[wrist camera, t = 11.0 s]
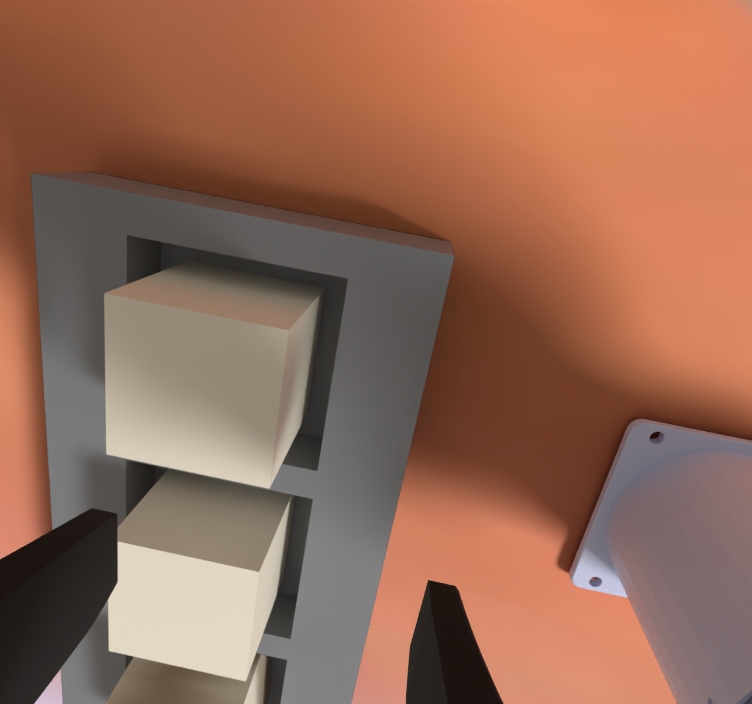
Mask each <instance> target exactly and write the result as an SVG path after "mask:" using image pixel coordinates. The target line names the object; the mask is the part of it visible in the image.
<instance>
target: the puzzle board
mask: <svg viewBox="0 0 752 704" xmlns="http://www.w3.org/2000/svg"><path fill="white" fill-rule="evenodd" d="M31 185H32V201H33V218H34V234H35V251H36V267H37V284H38V301H39V317H40V334H41V350H42V367H43V383H44V400H45V416H46V433H47V449H48V466H49V482H50V499H51V516H52V530H54V529H55V528H57V527H59V526H61V525H62V524H64V523H66V522H68V521H69V520H71V519H73V518H75V517H76V516H78V515H80V514H82V513H84V512H85V511H87V510H89V509H91V508H94V509H98V510H103V511H108V512H112V513H117V523H118V583H117V585H116V586H115V588H114V590H113V592H112V593H111V595H110V597H109V599H108V600H107V602H106V604H105V606H104V607H103V609H102V611H101V612H100V614H99V615H98V617H97V619H96V620H95V622H94V624H93V625H92V627H91V628H90V630H89V631H88V632H87V634H86V635H85V637H84V638H83V639H82V641H81V642H80V643H79V645H78V646H77V647H76V649H75V650H74V651H73V653H72V654H71V655H70V657H69V658H68V659H67V661H66V662H65V663H64V665H63V666H62V667H61V681H62V698H63V704H105V703H106V702H107V700H108V698H109V697H110V695H111V694H112V692H113V690H114V689H115V687H116V685H117V684H118V682H119V680H120V679H121V677H122V675H123V674H124V672H125V670H126V669H127V667H128V665H129V664H130V662H131V660H132V659H133V657H138V658H143V659H147V660H152V661H156V662H161V663H165V664H170V665H174V666H179V667H183V668H188V669H192V670H196V671H201V672H205V673H210V674H214V675H219V676H223V677H228V678H232V679H237V680H241V681H246V680H247V677H248V674H249V671H250V669H251V666H252V663H253V660H254V657H255V655H256V653H258V654H262V655H267V656H271V657H272V665H271V683H270V693H269V697H268V700H267V703H266V704H351V702H352V698H353V693H354V689H355V685H356V680H357V676H358V672H359V667H360V663H361V659H362V655H363V650H364V646H365V642H366V637H367V633H368V629H369V624H370V620H371V616H372V611H373V607H374V603H375V598H376V594H377V590H378V585H379V581H380V577H381V572H382V568H383V564H384V559H385V555H386V551H387V546H388V542H389V538H390V533H391V529H392V525H393V520H394V516H395V512H396V508H397V503H398V499H399V495H400V490H401V486H402V482H403V477H404V473H405V469H406V464H407V460H408V456H409V451H410V447H411V443H412V438H413V434H414V430H415V425H416V421H417V417H418V412H419V408H420V404H421V399H422V395H423V391H424V386H425V382H426V378H427V373H428V369H429V365H430V360H431V356H432V352H433V347H434V343H435V339H436V335H437V330H438V326H439V322H440V317H441V313H442V309H443V304H444V300H445V296H446V291H447V287H448V283H449V278H450V274H451V270H452V265H453V261H454V257H455V254H454V251H453V248H452V244H451V242H450V241H445V240H440V239H434V238H429V237H424V236H419V235H414V234H408V233H403V232H398V231H393V230H388V229H383V228H377V227H372V226H367V225H362V224H357V223H352V222H346V221H341V220H336V219H331V218H326V217H321V216H315V215H310V214H305V213H300V212H295V211H290V210H284V209H279V208H274V207H269V206H264V205H259V204H253V203H248V202H243V201H238V200H233V199H227V198H222V197H217V196H212V195H207V194H202V193H196V192H191V191H186V190H181V189H176V188H171V187H165V186H160V185H155V184H150V183H145V182H140V181H134V180H129V179H124V178H119V177H114V176H109V175H103V174H98V173H93V172H80V173H31Z"/></svg>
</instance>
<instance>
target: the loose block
mask: <svg viewBox="0 0 752 704" xmlns="http://www.w3.org/2000/svg"><path fill="white" fill-rule="evenodd" d="M271 665H272V657H271V656H267V655H262V654H258V653H256V655H255V657H254V660H253V663H252V666H251V669H250V671H249V674H248V677H247V680H246V681H241V680H237V679H232V678H228V677H223V676H219V675H214V674H210V673H205V672H201V671H196V670H192V669H188V668H183V667H179V666H174V665H170V664H165V663H161V662H156V661H152V660H147V659H143V658H138V657H133V659H132V660H131V662H130V664H129V665H128V667H127V669H126V670H125V672H124V674H123V675H122V677H121V679H120V680H119V682H118V684H117V685H116V687H115V689H114V690H113V692H112V694H111V695H110V697H109V698H108V700H107V702H106V703H105V704H266V703H267V700H268V697H269V693H270V683H271Z"/></svg>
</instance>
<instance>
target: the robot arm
mask: <svg viewBox="0 0 752 704" xmlns="http://www.w3.org/2000/svg"><path fill="white" fill-rule="evenodd" d="M654 432H660V434H659V436H658V437H657V438H654V439H650V436H651V434H652V433H654ZM569 575H570V578H571V581H572V583H573V584H574V585H575V586H577V587H579V588H584V589H589V590H593V591H598V592H603V593H607V594H612V595H617V596H621V597H626V598H628V599H629V601H630V603H631V605H632V607H633V609H634V612H635V614H636V616H637V618H638V620H639V622H640V625H641V627H642V629H643V631H644V633H645V635H646V638H647V640H648V642H649V644H650V646H651V648H652V650H653V653H654V655H655V657H656V659H657V661H658V663H659V666H660V668H661V670H662V672H663V674H664V676H665V679H666V681H667V683H668V685H669V687H670V689H671V691H672V694H673V696H674V698H675V700H676V702H677V704H752V441H751V440H746V439H741V438H736V437H731V436H726V435H721V434H716V433H711V432H706V431H701V430H696V429H691V428H686V427H681V426H676V425H671V424H667V423H662V422H657V421H652V420H647V419H637V420H634V421H633V422H631V423H630V424H629V425H628V427H627V429H626V431H625V434H624V436H623V439H622V441H621V444H620V446H619V449H618V451H617V454H616V456H615V459H614V461H613V464H612V466H611V469H610V471H609V474H608V476H607V479H606V481H605V484H604V486H603V489H602V491H601V494H600V496H599V499H598V501H597V504H596V506H595V509H594V511H593V514H592V516H591V519H590V521H589V524H588V526H587V529H586V531H585V534H584V536H583V539H582V541H581V544H580V546H579V549H578V551H577V554H576V556H575V559H574V561H573V564H572V566H571V569H570V573H569ZM593 577H598V578H597V579H595V580H590V579H591V578H593ZM117 583H118V523H117V513H112V512H108V511H103V510H98V509H94V508H91V509H89V510H87V511H85V512H84V513H82V514H80V515H78V516H76V517H75V518H73V519H71V520H69V521H68V522H66V523H64V524H62V525H61V526H59V527H57V528H55V529H54V530H52V531H50V532H48V533H47V534H45V535H43V536H41V537H40V538H38V539H36V540H34V541H33V542H31V543H29V544H27V545H25V546H24V547H22V548H20V549H18V550H16V551H15V552H13V553H11V554H9V555H7V556H6V557H4V558H2V559H0V704H34V703H35V702H36V700H37V699H38V698H39V696H40V695H41V694H42V692H43V691H44V690H45V689H46V687H47V686H48V685H49V683H50V682H51V681H52V679H53V678H54V677H55V675H56V674H57V673H58V671H59V670H60V669H61V667H62V666H63V665H64V663H65V662H66V661H67V659H68V658H69V657H70V655H71V654H72V653H73V651H74V650H75V649H76V647H77V646H78V645H79V643H80V642H81V641H82V639H83V638H84V637H85V635H86V634H87V632H88V631H89V630H90V628H91V627H92V625H93V624H94V622H95V620H96V619H97V617H98V615H99V614H100V612H101V611H102V609H103V607H104V606H105V604H106V602H107V600H108V599H109V597H110V595H111V593H112V592H113V590H114V588H115V586H116V585H117ZM406 704H503V702H502V700H501V698H500V695H499V693H498V691H497V689H496V687H495V684H494V682H493V680H492V678H491V675H490V673H489V671H488V668H487V666H486V664H485V661H484V659H483V657H482V654H481V652H480V649H479V647H478V644H477V642H476V639H475V637H474V634H473V631H472V629H471V626H470V623H469V621H468V618H467V615H466V612H465V609H464V606H463V603H462V600H461V597H460V593H459V591H458V589H457V588H456V586H453V585H448V584H444V583H439V582H434V581H430V580H428V583H427V587H426V591H425V594H424V598H423V601H422V605H421V609H420V612H419V616H418V620H417V623H416V627H415V630H414V634H413V638H412V641H411V645H410V654H409V665H408V677H407V690H406Z"/></svg>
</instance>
